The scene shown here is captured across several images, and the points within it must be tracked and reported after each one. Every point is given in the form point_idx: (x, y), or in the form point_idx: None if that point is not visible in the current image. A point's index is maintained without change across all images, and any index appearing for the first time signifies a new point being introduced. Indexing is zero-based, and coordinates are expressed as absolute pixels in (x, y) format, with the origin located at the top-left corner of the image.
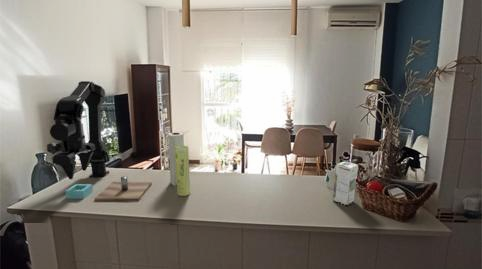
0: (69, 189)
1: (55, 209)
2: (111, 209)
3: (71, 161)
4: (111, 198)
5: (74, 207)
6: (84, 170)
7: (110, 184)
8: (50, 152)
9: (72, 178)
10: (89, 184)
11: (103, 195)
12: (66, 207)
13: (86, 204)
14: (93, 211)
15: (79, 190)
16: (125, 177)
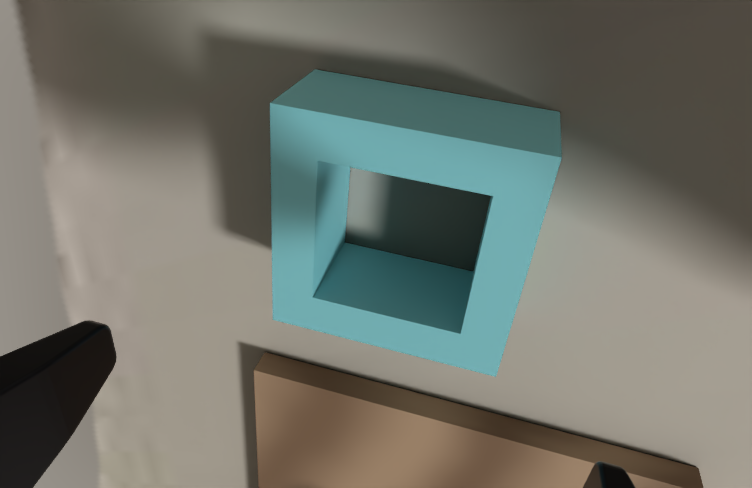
0: (322, 143)
1: (52, 66)
2: (145, 448)
3: None
4: (258, 468)
5: (125, 227)
6: (586, 485)
7: None
8: None
9: (100, 370)
10: (493, 349)
11: (311, 425)
12: (111, 158)
13: (192, 304)
14: None
15: (288, 277)
16: None
